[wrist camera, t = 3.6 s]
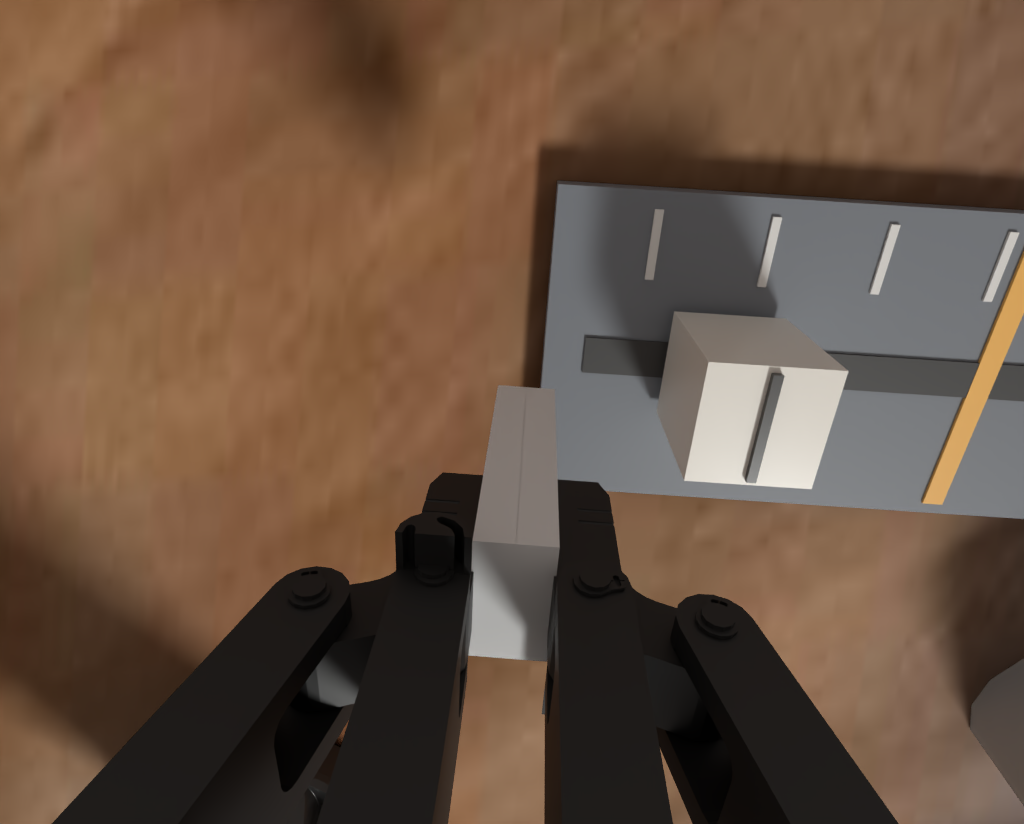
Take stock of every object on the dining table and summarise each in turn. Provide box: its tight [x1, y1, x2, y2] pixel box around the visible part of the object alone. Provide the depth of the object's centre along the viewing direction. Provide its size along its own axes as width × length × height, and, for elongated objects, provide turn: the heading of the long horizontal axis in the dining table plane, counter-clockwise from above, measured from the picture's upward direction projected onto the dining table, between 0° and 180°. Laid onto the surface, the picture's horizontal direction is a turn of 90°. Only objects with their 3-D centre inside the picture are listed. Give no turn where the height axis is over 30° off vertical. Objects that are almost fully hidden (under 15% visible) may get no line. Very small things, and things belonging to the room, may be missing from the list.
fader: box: [657, 311, 848, 489], centre depth 21 cm, size 4×4×5 cm
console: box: [540, 180, 1024, 519], centre depth 24 cm, size 23×12×1 cm, turn 87°
